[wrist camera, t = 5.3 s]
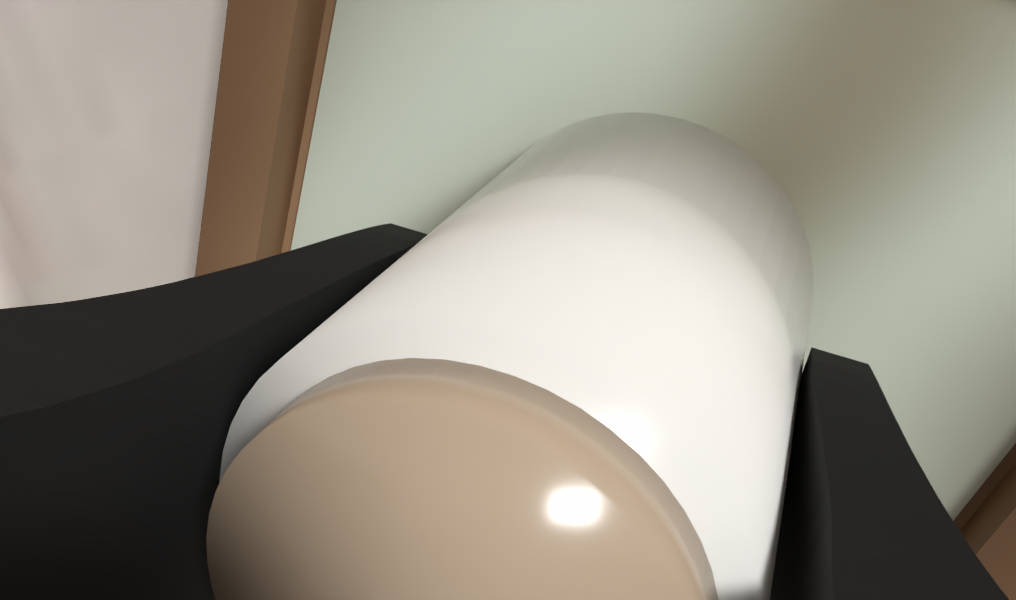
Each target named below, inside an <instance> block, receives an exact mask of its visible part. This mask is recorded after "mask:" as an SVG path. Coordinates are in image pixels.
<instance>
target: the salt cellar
mask: <svg viewBox="0 0 1016 600" xmlns="http://www.w3.org/2000/svg"><path fill="white" fill-rule="evenodd" d="M813 293H814V270H813V264H812V257H811V250H810V246H809V243H808V240H807V236H806V233H805V230H804V227H803V224H802V222H801V220H800V218H799V216H798V214H797V212H796V209H795V207H794V205H793V204H792V202H791V201H790V199H789V198H788V196H787V195H786V193H785V191H784V190H783V188H782V187H781V186H780V184H779V183H778V182H777V181H776V180H775V179H774V177H773V176H772V175H771V174H770V173H769V172H768V170H767V169H766V168H765V167H764V166H763V165H762V164H760V163H759V162H758V161H757V160H756V159H755V158H754V157H753V156H751V155H750V154H749V153H748V152H747V151H745V150H744V149H742V148H741V147H739V146H738V145H737V144H735V143H734V142H732V141H731V140H729V139H728V138H726V137H724V136H722V135H720V134H718V133H716V132H714V131H712V130H710V129H708V128H706V127H704V126H701V125H698V124H695V123H692V122H689V121H687V120H684V119H680V118H675V117H671V116H666V115H661V114H652V113H640V112H630V113H612V114H607V115H601V116H596V117H591V118H588V119H585V120H582V121H579V122H576V123H573V124H570V125H568V126H565V127H563V128H561V129H559V130H557V131H555V132H553V133H551V134H550V135H548V136H547V137H545V138H544V139H542V140H541V141H539V142H538V143H536V144H535V145H534V146H532V147H531V148H530V149H529V150H528V151H526V152H525V153H524V154H523V155H522V156H520V157H519V158H518V159H517V160H516V161H514V162H513V163H512V164H511V165H510V166H509V167H507V168H506V169H505V170H504V171H503V172H501V173H500V174H499V175H498V176H497V177H495V178H494V179H493V180H492V181H491V182H490V183H488V184H487V185H486V186H485V187H484V188H482V189H481V190H480V191H479V192H478V193H476V194H475V195H474V196H473V197H472V198H471V199H469V200H468V201H467V202H466V203H465V204H463V205H462V206H461V207H460V208H459V209H457V210H456V211H455V212H454V213H453V214H452V215H450V216H449V217H448V218H447V219H446V220H444V221H443V222H442V223H441V224H440V225H438V226H437V227H436V228H435V229H434V230H433V231H431V232H430V233H429V234H428V235H427V236H425V237H424V238H423V239H422V240H421V241H419V242H418V243H417V244H416V245H415V246H414V247H412V248H411V249H410V250H409V251H408V252H406V253H405V254H404V255H403V256H402V257H401V258H399V259H398V260H397V261H396V262H395V263H393V264H392V265H391V266H390V267H389V268H387V269H386V270H385V271H384V272H383V273H382V274H380V275H379V276H378V277H377V278H376V279H374V280H373V281H372V282H371V283H370V284H368V285H367V286H366V287H365V288H364V289H363V290H361V291H360V292H359V293H358V294H357V295H355V296H354V297H353V298H352V299H351V300H349V301H348V302H347V303H346V304H345V305H344V306H342V307H341V308H340V309H339V310H338V311H336V312H335V313H334V314H333V315H332V316H330V317H329V318H328V319H327V320H326V321H325V322H323V323H322V324H321V325H320V326H319V327H317V328H316V329H315V330H314V331H313V332H311V333H310V334H309V335H308V336H307V337H306V338H304V339H303V340H302V341H301V342H300V343H298V344H297V345H296V346H295V347H294V348H292V349H291V350H290V351H289V352H288V353H287V354H285V355H284V356H283V357H282V358H281V359H279V360H278V361H277V362H276V363H275V364H274V365H273V366H272V367H271V368H270V369H269V370H268V371H267V372H266V373H265V374H263V375H262V376H261V377H260V378H259V379H258V381H257V382H256V383H255V385H254V386H253V387H252V389H251V390H250V391H249V393H248V394H247V396H246V397H245V398H244V400H243V401H242V403H241V405H240V407H239V409H238V411H237V413H236V415H235V417H234V419H233V421H232V423H231V425H230V428H229V432H228V435H227V439H226V442H225V446H224V449H223V454H222V462H221V470H220V483H219V485H218V487H217V489H216V492H215V495H214V499H213V502H212V505H211V509H210V512H209V519H208V528H207V536H206V542H207V564H208V569H209V575H210V581H211V586H212V590H213V593H214V597H215V600H770V595H771V588H772V581H773V574H774V567H775V560H776V553H777V546H778V539H779V532H780V525H781V518H782V511H783V504H784V497H785V490H786V483H787V476H788V469H789V462H790V455H791V448H792V441H793V434H794V427H795V420H796V413H797V405H798V398H799V391H800V384H801V377H802V370H803V363H804V356H805V349H806V342H807V335H808V328H809V321H810V314H811V307H812V300H813Z"/></svg>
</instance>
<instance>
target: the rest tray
mask: <svg viewBox="0 0 1016 600" xmlns="http://www.w3.org/2000/svg"><path fill="white" fill-rule="evenodd" d="M630 112H640V113H652V114H661V115H666V116H671V117H675V118H680V119H684V120H687V121H689V122H692V123H695V124H698V125H701V126H704V127H706V128H708V129H710V130H712V131H714V132H716V133H718V134H720V135H722V136H724V137H726V138H728V139H729V140H731V141H732V142H734V143H735V144H737V145H738V146H739V147H741V148H742V149H744V150H745V151H747V152H748V153H749V154H750V155H751V156H753V157H754V158H755V159H756V160H757V161H758V162H759V163H760V164H762V165H763V166H764V167H765V168H766V169H767V170H768V172H769V173H770V174H771V175H772V176H773V177H774V179H775V180H776V181H777V182H778V183H779V184H780V186H781V187H782V188H783V190H784V191H785V193H786V195H787V196H788V198H789V199H790V201H791V202H792V204H793V205H794V207H795V209H796V212H797V214H798V216H799V218H800V220H801V222H802V224H803V227H804V230H805V233H806V236H807V240H808V243H809V246H810V250H811V257H812V264H813V270H814V293H813V300H812V307H811V314H810V321H809V328H808V335H807V342H806V349H805V356H804V363H803V369H804V367H805V364H806V361H807V358H808V356H809V353H810V350H811V347H812V348H816V349H819V350H822V351H826V352H829V353H833V354H836V355H839V356H843V357H846V358H850V359H853V360H856V361H860V362H863V363H867V364H869V366H870V367H871V369H872V371H873V373H874V375H875V377H876V379H877V381H878V383H879V385H880V387H881V389H882V391H883V393H884V395H885V397H886V400H887V402H888V404H889V406H890V408H891V410H892V412H893V414H894V416H895V418H896V420H897V422H898V424H899V426H900V428H901V430H902V432H903V434H904V436H905V438H906V440H907V442H908V444H909V446H910V448H911V450H912V451H913V453H914V455H915V457H916V459H917V461H918V462H919V464H920V466H921V468H922V470H923V471H924V473H925V475H926V477H927V478H928V480H929V482H930V484H931V485H932V487H933V489H934V491H935V493H936V494H937V496H938V498H939V499H940V501H941V503H942V504H943V506H944V508H945V509H946V511H947V512H948V514H949V515H950V517H951V518H952V520H953V521H954V523H955V524H956V526H957V527H958V529H959V530H960V532H961V533H962V535H963V536H964V538H965V539H966V541H967V542H968V544H969V545H970V547H971V549H972V550H973V552H974V553H975V555H976V556H977V557H978V559H979V560H980V562H981V563H982V564H983V566H984V567H985V569H986V570H987V571H988V573H989V574H990V575H991V577H992V578H993V579H994V581H995V582H996V583H997V585H998V586H999V587H1000V589H1001V590H1002V591H1003V592H1004V594H1005V595H1006V596H1007V597H1008V599H1009V600H1016V0H228V8H227V17H226V25H225V33H224V41H223V50H222V58H221V66H220V75H219V83H218V91H217V100H216V108H215V116H214V125H213V133H212V141H211V149H210V158H209V166H208V174H207V183H206V191H205V199H204V208H203V216H202V224H201V233H200V241H199V249H198V257H197V266H196V274H195V277H197V276H201V275H205V274H208V273H212V272H216V271H220V270H224V269H228V268H232V267H235V266H239V265H243V264H247V263H251V262H254V261H258V260H261V259H264V258H268V257H271V256H274V255H278V254H281V253H284V252H288V251H291V250H294V249H297V248H301V247H304V246H307V245H311V244H314V243H317V242H321V241H324V240H327V239H330V238H334V237H337V236H340V235H344V234H347V233H351V232H354V231H358V230H361V229H365V228H369V227H373V226H378V225H383V224H389V223H391V224H395V225H398V226H402V227H405V228H408V229H412V230H415V231H419V232H422V233H425V234H429V233H430V232H431V231H433V230H434V229H435V228H436V227H437V226H438V225H440V224H441V223H442V222H443V221H444V220H446V219H447V218H448V217H449V216H450V215H452V214H453V213H454V212H455V211H456V210H457V209H459V208H460V207H461V206H462V205H463V204H465V203H466V202H467V201H468V200H469V199H471V198H472V197H473V196H474V195H475V194H476V193H478V192H479V191H480V190H481V189H482V188H484V187H485V186H486V185H487V184H488V183H490V182H491V181H492V180H493V179H494V178H495V177H497V176H498V175H499V174H500V173H501V172H503V171H504V170H505V169H506V168H507V167H509V166H510V165H511V164H512V163H513V162H514V161H516V160H517V159H518V158H519V157H520V156H522V155H523V154H524V153H525V152H526V151H528V150H529V149H530V148H531V147H532V146H534V145H535V144H536V143H538V142H539V141H541V140H542V139H544V138H545V137H547V136H548V135H550V134H551V133H553V132H555V131H557V130H559V129H561V128H563V127H565V126H568V125H570V124H573V123H576V122H579V121H582V120H585V119H588V118H591V117H596V116H601V115H607V114H612V113H630ZM802 372H803V370H802Z"/></svg>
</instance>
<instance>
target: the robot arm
mask: <svg viewBox="0 0 1016 600" xmlns="http://www.w3.org/2000/svg"><path fill="white" fill-rule="evenodd" d="M427 235H428V234H425V233H422V232H419V231H415V230H412V229H408V228H405V227H402V226H398V225H395V224H391V223H389V224H383V225H378V226H373V227H369V228H365V229H361V230H358V231H354V232H351V233H347V234H344V235H340V236H337V237H334V238H330V239H327V240H324V241H321V242H317V243H314V244H311V245H307V246H304V247H301V248H297V249H294V250H291V251H288V252H284V253H281V254H278V255H274V256H271V257H268V258H264V259H261V260H258V261H254V262H251V263H247V264H243V265H239V266H235V267H232V268H228V269H224V270H220V271H216V272H212V273H208V274H205V275H201V276H197V277H193V278H189V279H185V280H181V281H178V282H174V283H169V284H165V285H160V286H156V287H151V288H146V289H141V290H136V291H131V292H125V293H119V294H114V295H108V296H102V297H96V298H90V299H84V300H78V301H71V302H64V303H55V304H45V305H36V306H26V307H16V308H7V309H0V600H215V597H214V593H213V590H212V586H211V581H210V575H209V569H208V564H207V542H206V536H207V528H208V519H209V512H210V509H211V505H212V502H213V499H214V495H215V492H216V489H217V487H218V485H219V483H220V470H221V462H222V454H223V449H224V446H225V442H226V439H227V435H228V432H229V428H230V425H231V423H232V421H233V419H234V417H235V415H236V413H237V411H238V409H239V407H240V405H241V403H242V401H243V400H244V398H245V397H246V396H247V394H248V393H249V391H250V390H251V389H252V387H253V386H254V385H255V383H256V382H257V381H258V379H259V378H260V377H261V376H262V375H263V374H265V373H266V372H267V371H268V370H269V369H270V368H271V367H272V366H273V365H274V364H275V363H276V362H277V361H278V360H279V359H281V358H282V357H283V356H284V355H285V354H287V353H288V352H289V351H290V350H291V349H292V348H294V347H295V346H296V345H297V344H298V343H300V342H301V341H302V340H303V339H304V338H306V337H307V336H308V335H309V334H310V333H311V332H313V331H314V330H315V329H316V328H317V327H319V326H320V325H321V324H322V323H323V322H325V321H326V320H327V319H328V318H329V317H330V316H332V315H333V314H334V313H335V312H336V311H338V310H339V309H340V308H341V307H342V306H344V305H345V304H346V303H347V302H348V301H349V300H351V299H352V298H353V297H354V296H355V295H357V294H358V293H359V292H360V291H361V290H363V289H364V288H365V287H366V286H367V285H368V284H370V283H371V282H372V281H373V280H374V279H376V278H377V277H378V276H379V275H380V274H382V273H383V272H384V271H385V270H386V269H387V268H389V267H390V266H391V265H392V264H393V263H395V262H396V261H397V260H398V259H399V258H401V257H402V256H403V255H404V254H405V253H406V252H408V251H409V250H410V249H411V248H412V247H414V246H415V245H416V244H417V243H418V242H419V241H421V240H422V239H423V238H424V237H425V236H427ZM770 600H1009V599H1008V597H1007V596H1006V595H1005V594H1004V592H1003V591H1002V590H1001V589H1000V587H999V586H998V585H997V583H996V582H995V581H994V579H993V578H992V577H991V575H990V574H989V573H988V571H987V570H986V569H985V567H984V566H983V564H982V563H981V562H980V560H979V559H978V557H977V556H976V555H975V553H974V552H973V550H972V549H971V547H970V545H969V544H968V542H967V541H966V539H965V538H964V536H963V535H962V533H961V532H960V530H959V529H958V527H957V526H956V524H955V523H954V521H953V520H952V518H951V517H950V515H949V514H948V512H947V511H946V509H945V508H944V506H943V504H942V503H941V501H940V499H939V498H938V496H937V494H936V493H935V491H934V489H933V487H932V485H931V484H930V482H929V480H928V478H927V477H926V475H925V473H924V471H923V470H922V468H921V466H920V464H919V462H918V461H917V459H916V457H915V455H914V453H913V451H912V450H911V448H910V446H909V444H908V442H907V440H906V438H905V436H904V434H903V432H902V430H901V428H900V426H899V424H898V422H897V420H896V418H895V416H894V414H893V412H892V410H891V408H890V406H889V404H888V402H887V400H886V397H885V395H884V393H883V391H882V389H881V387H880V385H879V383H878V381H877V379H876V377H875V375H874V373H873V371H872V369H871V367H870V366H869V364H867V363H863V362H860V361H856V360H853V359H850V358H846V357H843V356H839V355H836V354H833V353H829V352H826V351H822V350H819V349H816V348H812V347H811V350H810V353H809V356H808V358H807V361H806V364H805V367H804V369H803V372H802V377H801V384H800V391H799V398H798V405H797V413H796V420H795V427H794V434H793V441H792V448H791V455H790V462H789V469H788V476H787V483H786V490H785V497H784V504H783V511H782V518H781V525H780V532H779V539H778V546H777V553H776V560H775V567H774V574H773V581H772V588H771V595H770Z"/></svg>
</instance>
